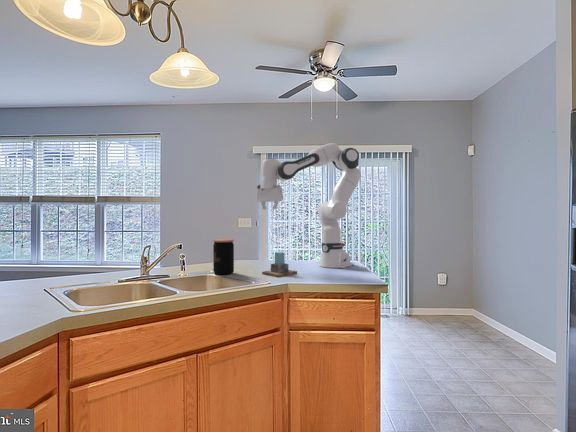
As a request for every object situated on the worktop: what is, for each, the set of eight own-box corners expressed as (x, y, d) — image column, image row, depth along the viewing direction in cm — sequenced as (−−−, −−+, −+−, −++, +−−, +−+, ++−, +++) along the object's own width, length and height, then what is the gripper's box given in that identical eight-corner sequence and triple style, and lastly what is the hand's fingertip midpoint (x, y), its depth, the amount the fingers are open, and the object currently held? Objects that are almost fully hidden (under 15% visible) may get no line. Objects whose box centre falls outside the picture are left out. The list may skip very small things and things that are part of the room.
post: (279, 270, 179) (279, 252, 178) (284, 271, 176) (284, 252, 176) (274, 271, 176) (274, 252, 176) (279, 272, 173) (279, 253, 173)
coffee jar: (212, 272, 181) (212, 239, 180) (232, 271, 184) (232, 238, 183) (214, 276, 170) (214, 240, 170) (235, 274, 174) (235, 240, 173)
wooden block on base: (281, 270, 185) (281, 261, 185) (297, 273, 176) (297, 263, 176) (262, 273, 176) (262, 264, 176) (277, 277, 167) (277, 266, 167)
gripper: (285, 185, 190) (285, 209, 190) (262, 187, 205) (263, 209, 205) (277, 184, 186) (277, 209, 186) (254, 186, 201) (254, 209, 201)
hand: (269, 209), depth 196 cm, fingers open, 8 cm apart
